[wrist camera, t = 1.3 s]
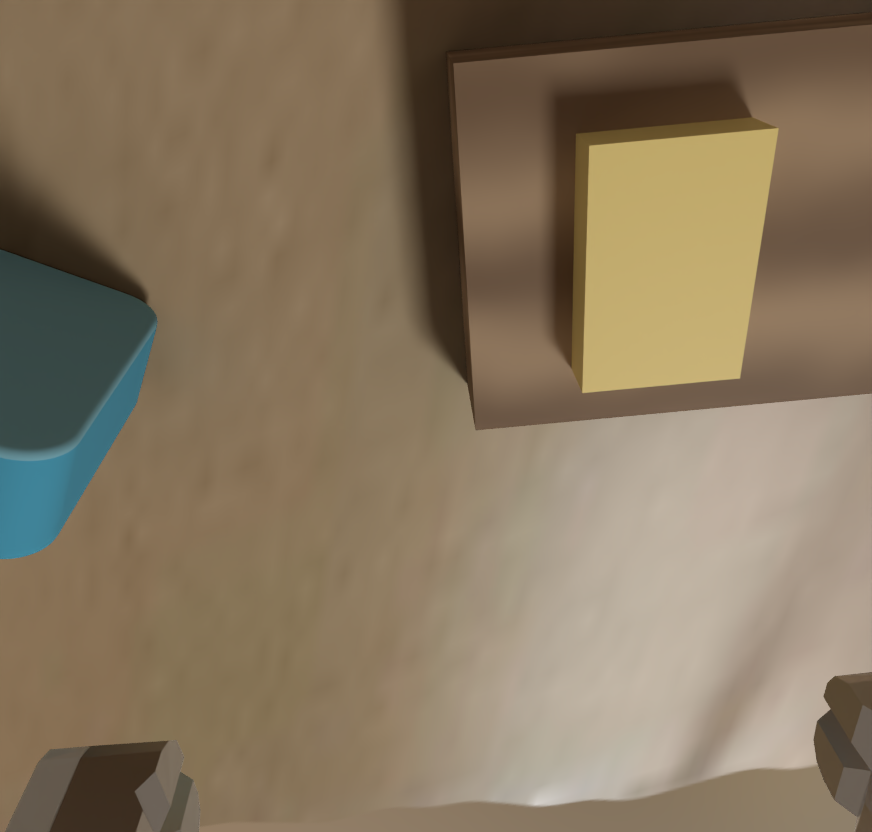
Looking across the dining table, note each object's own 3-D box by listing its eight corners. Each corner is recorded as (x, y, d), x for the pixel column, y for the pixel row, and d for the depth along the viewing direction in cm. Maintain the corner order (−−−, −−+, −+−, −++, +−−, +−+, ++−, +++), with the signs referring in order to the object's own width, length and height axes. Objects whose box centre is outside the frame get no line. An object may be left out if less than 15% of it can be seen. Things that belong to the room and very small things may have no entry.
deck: (446, 51, 27) (453, 63, 24) (1042, -4, 27) (1135, -1, 24) (467, 384, 34) (475, 430, 31) (937, 340, 34) (997, 381, 31)
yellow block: (575, 133, 25) (589, 145, 23) (752, 117, 25) (778, 128, 23) (571, 368, 30) (582, 393, 28) (720, 354, 30) (739, 378, 28)
